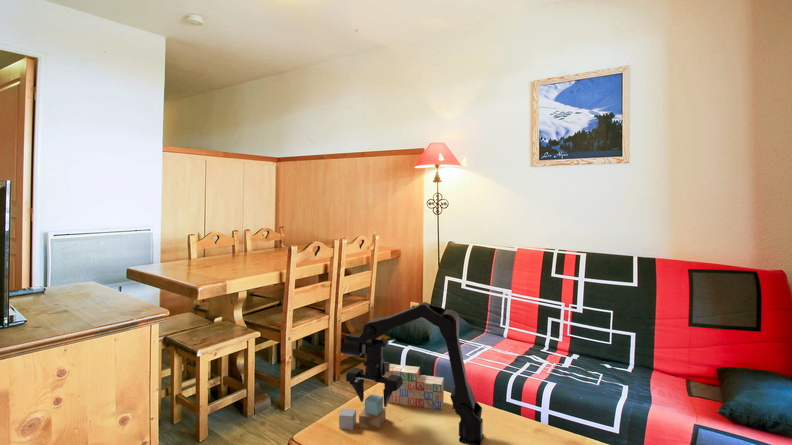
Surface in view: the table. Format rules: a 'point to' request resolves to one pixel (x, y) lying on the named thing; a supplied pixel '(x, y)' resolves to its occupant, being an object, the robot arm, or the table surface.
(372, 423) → the walnut block
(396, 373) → the stack of blocks
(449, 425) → the table surface
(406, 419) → the table surface
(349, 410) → the light grey cube
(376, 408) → the teal cube
